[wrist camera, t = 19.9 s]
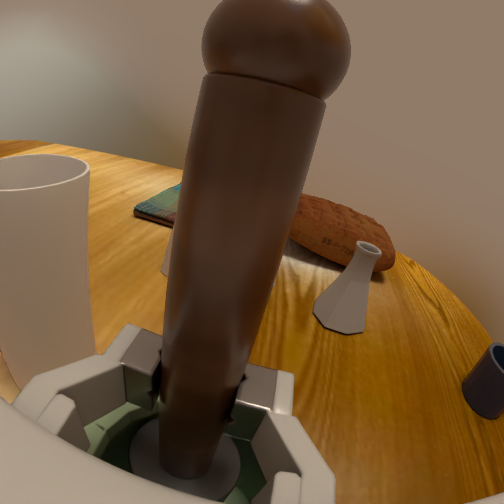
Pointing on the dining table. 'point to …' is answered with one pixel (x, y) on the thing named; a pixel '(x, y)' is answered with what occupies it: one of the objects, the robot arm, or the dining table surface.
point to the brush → (235, 224)
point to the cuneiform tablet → (338, 231)
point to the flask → (349, 293)
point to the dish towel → (160, 206)
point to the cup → (44, 264)
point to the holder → (487, 383)
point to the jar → (133, 417)
